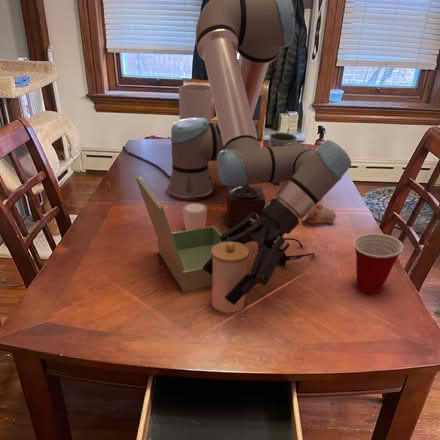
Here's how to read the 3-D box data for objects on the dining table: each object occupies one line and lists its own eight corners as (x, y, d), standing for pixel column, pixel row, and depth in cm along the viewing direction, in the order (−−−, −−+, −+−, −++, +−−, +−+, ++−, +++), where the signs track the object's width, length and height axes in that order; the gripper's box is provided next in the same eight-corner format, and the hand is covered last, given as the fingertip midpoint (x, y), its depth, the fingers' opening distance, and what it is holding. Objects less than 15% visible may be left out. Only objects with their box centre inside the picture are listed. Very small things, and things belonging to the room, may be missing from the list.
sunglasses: (259, 250, 123) (262, 233, 121) (296, 248, 128) (300, 231, 125) (278, 270, 115) (282, 252, 113) (317, 266, 120) (322, 249, 118)
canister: (203, 304, 103) (203, 241, 94) (227, 291, 107) (229, 229, 98) (228, 320, 98) (231, 255, 89) (252, 305, 103) (257, 242, 94)
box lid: (137, 174, 107) (134, 175, 107) (162, 206, 92) (159, 208, 92) (158, 232, 117) (156, 233, 117) (184, 270, 102) (181, 271, 102)
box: (213, 244, 126) (214, 225, 123) (244, 280, 111) (246, 260, 108) (158, 254, 121) (157, 234, 117) (183, 294, 106) (183, 272, 103)
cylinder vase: (177, 156, 187) (175, 90, 172) (184, 147, 197) (183, 83, 183) (207, 158, 185) (208, 92, 171) (213, 149, 195) (214, 85, 181)
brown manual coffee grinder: (228, 231, 133) (230, 170, 122) (225, 214, 142) (227, 156, 131) (281, 230, 134) (288, 170, 123) (275, 214, 143) (281, 157, 132)
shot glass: (189, 237, 129) (188, 214, 125) (179, 227, 134) (178, 205, 130) (211, 232, 132) (211, 210, 128) (200, 223, 137) (200, 201, 133)
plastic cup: (338, 275, 114) (347, 232, 107) (381, 274, 115) (392, 231, 108) (352, 301, 105) (363, 255, 98) (398, 299, 106) (411, 254, 99)
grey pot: (275, 161, 184) (278, 131, 177) (297, 167, 179) (301, 135, 172) (261, 168, 177) (264, 136, 170) (285, 174, 172) (288, 142, 165)
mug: (339, 228, 136) (329, 203, 130) (308, 238, 140) (296, 214, 134) (337, 212, 141) (327, 187, 135) (306, 222, 145) (295, 198, 138)
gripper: (329, 244, 88) (252, 325, 92) (270, 197, 106) (208, 266, 110) (309, 223, 83) (229, 309, 87) (251, 178, 102) (186, 250, 105)
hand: (217, 285), depth 99 cm, fingers open, 12 cm apart
